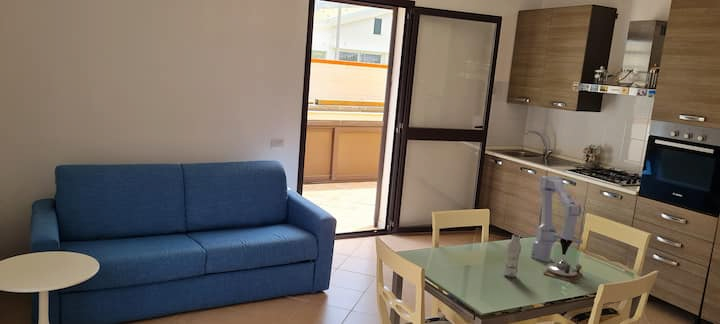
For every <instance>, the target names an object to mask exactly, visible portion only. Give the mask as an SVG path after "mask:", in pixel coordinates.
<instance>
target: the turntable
mask: <svg viewBox="0 0 720 324" xmlns="http://www.w3.org/2000/svg"><path fill="white" fill-rule="evenodd" d="M546 269H547V270H548V271H549V272H551V273H553V274H555V275H558V276H563V277H575V276H576V275H577V269H576V268H575V267H573V266H571V265H570V264H569V263H568V264H566V268H565V270H560V269H558V268H557V262H548V264H547V265H546Z"/></svg>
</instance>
